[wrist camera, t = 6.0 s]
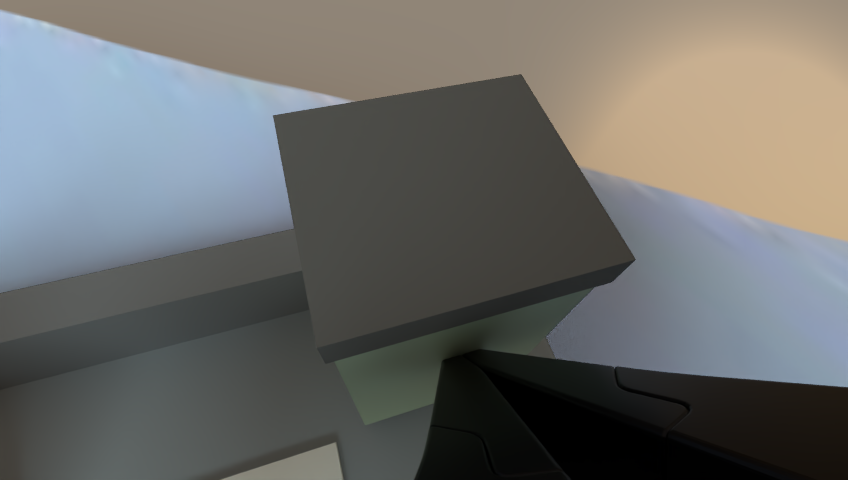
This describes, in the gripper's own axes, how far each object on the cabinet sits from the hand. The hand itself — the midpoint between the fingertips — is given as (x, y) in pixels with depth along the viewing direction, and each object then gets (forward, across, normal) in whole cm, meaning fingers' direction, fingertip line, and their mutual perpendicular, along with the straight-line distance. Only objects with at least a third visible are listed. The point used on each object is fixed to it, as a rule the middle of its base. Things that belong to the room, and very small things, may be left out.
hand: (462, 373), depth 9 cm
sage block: (+5, 0, -2) cm, 5 cm away
